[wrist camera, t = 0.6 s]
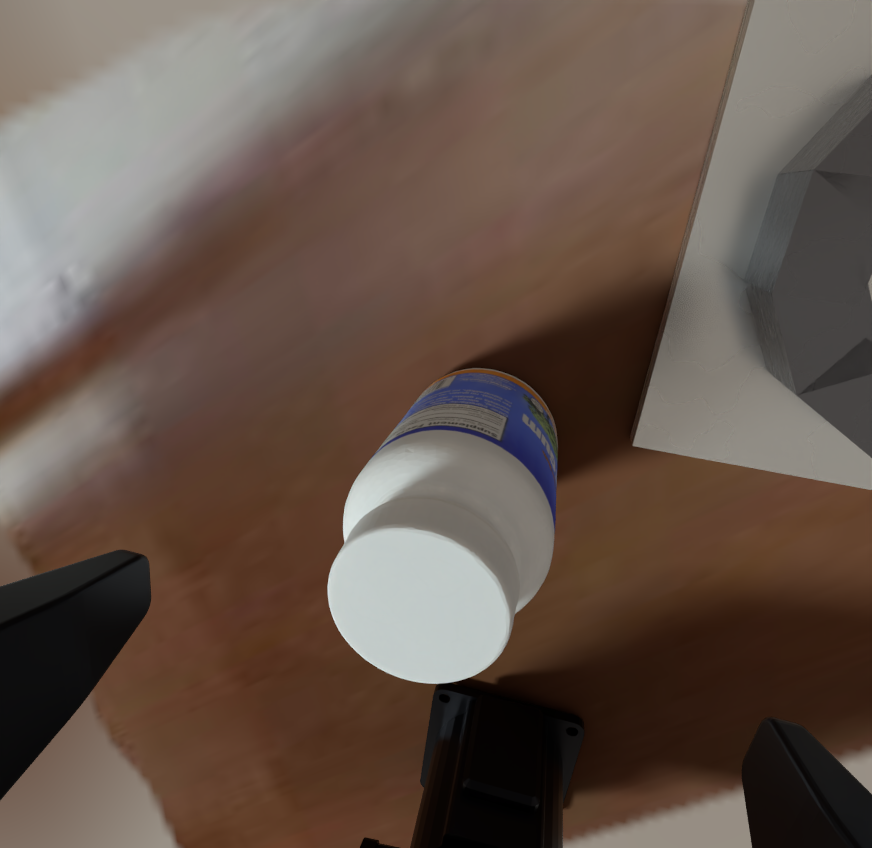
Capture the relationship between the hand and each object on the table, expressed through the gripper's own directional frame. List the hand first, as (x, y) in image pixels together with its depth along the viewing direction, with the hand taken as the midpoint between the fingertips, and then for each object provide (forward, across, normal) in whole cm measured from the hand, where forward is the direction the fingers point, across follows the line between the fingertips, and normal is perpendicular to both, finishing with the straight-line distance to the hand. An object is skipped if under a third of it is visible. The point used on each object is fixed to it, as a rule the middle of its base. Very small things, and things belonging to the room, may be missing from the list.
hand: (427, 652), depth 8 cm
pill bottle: (+13, +1, +2) cm, 13 cm away
